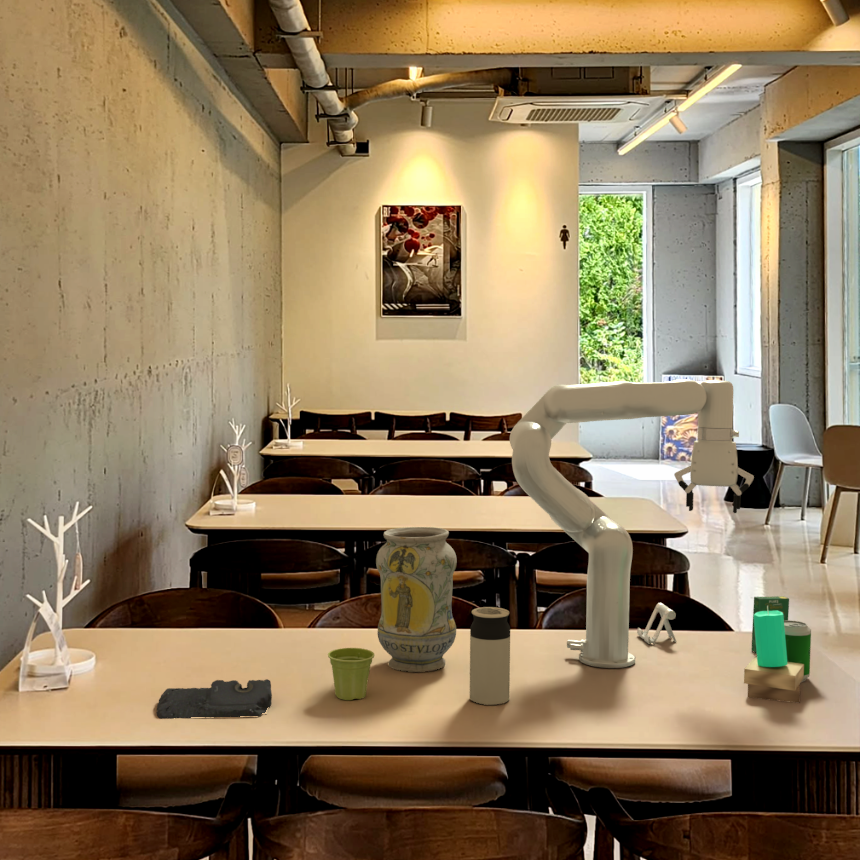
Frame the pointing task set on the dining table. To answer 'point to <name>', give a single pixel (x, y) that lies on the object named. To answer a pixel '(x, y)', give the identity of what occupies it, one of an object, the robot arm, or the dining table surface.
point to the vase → (416, 597)
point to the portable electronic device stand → (665, 615)
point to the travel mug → (490, 656)
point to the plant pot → (350, 672)
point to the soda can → (798, 644)
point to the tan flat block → (773, 693)
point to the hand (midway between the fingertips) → (712, 511)
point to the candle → (770, 638)
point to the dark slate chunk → (216, 700)
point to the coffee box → (769, 609)
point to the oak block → (774, 675)
